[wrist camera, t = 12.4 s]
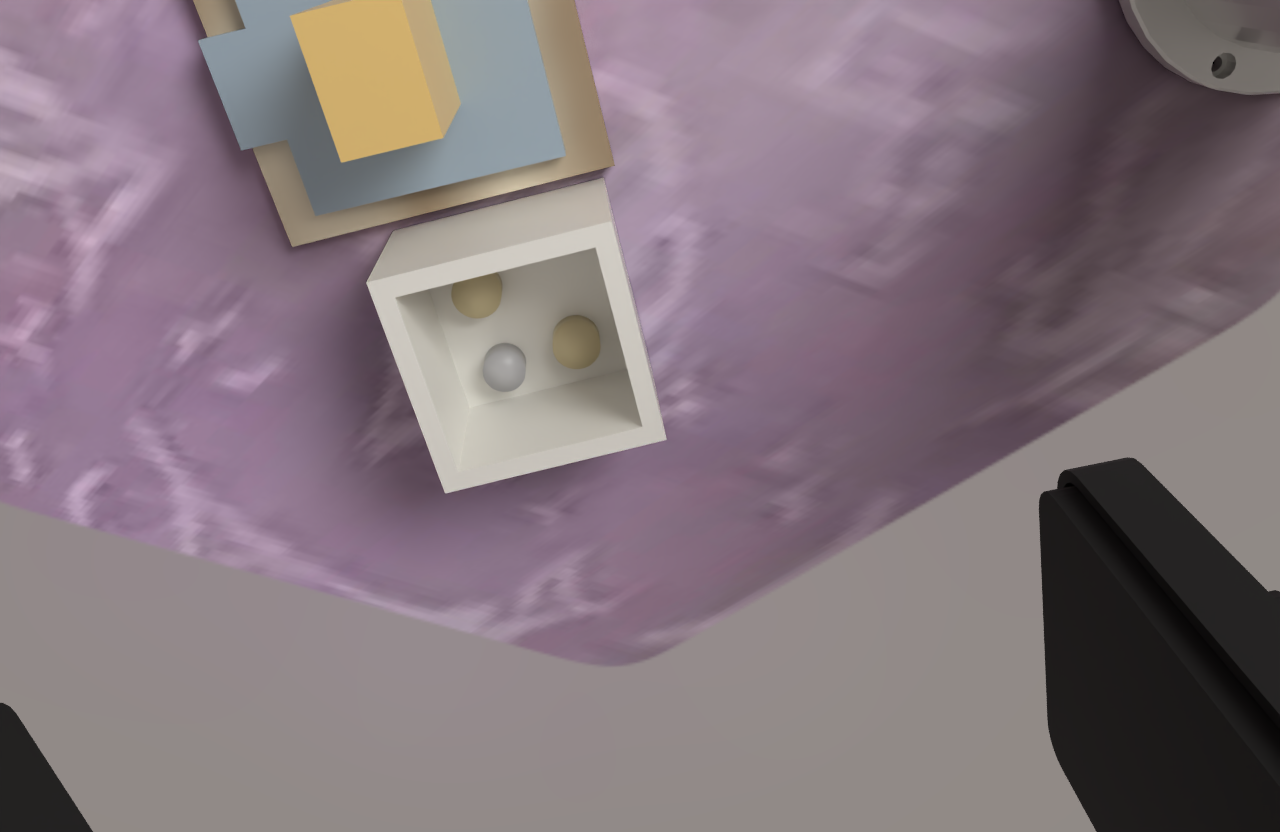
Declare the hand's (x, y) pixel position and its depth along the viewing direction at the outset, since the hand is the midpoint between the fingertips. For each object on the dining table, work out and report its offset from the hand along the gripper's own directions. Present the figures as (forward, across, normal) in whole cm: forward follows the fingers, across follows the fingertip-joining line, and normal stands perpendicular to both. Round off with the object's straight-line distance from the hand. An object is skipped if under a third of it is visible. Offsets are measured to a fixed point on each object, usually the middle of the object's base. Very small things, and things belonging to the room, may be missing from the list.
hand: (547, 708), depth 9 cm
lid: (+29, +5, -3) cm, 30 cm away
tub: (+30, +4, +6) cm, 31 cm away
